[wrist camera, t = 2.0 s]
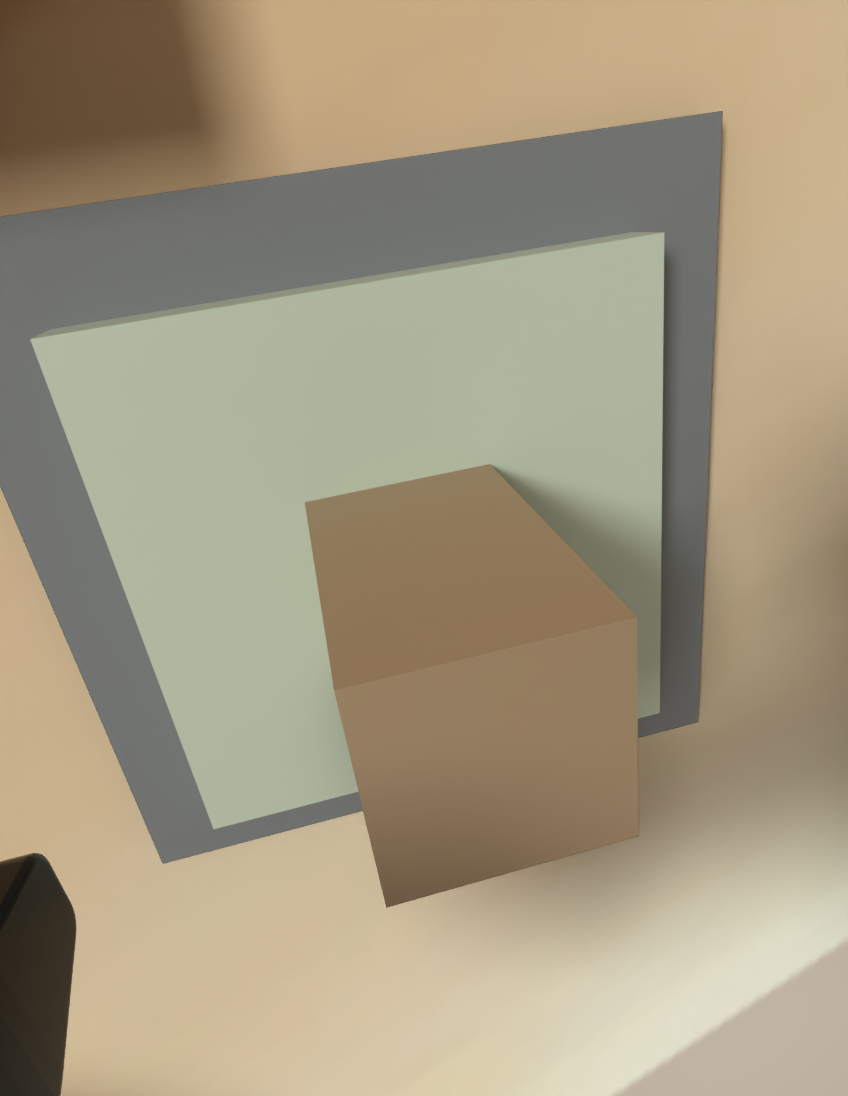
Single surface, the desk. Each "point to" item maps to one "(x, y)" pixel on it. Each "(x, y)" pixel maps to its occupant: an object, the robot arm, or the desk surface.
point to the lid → (396, 544)
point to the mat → (317, 258)
